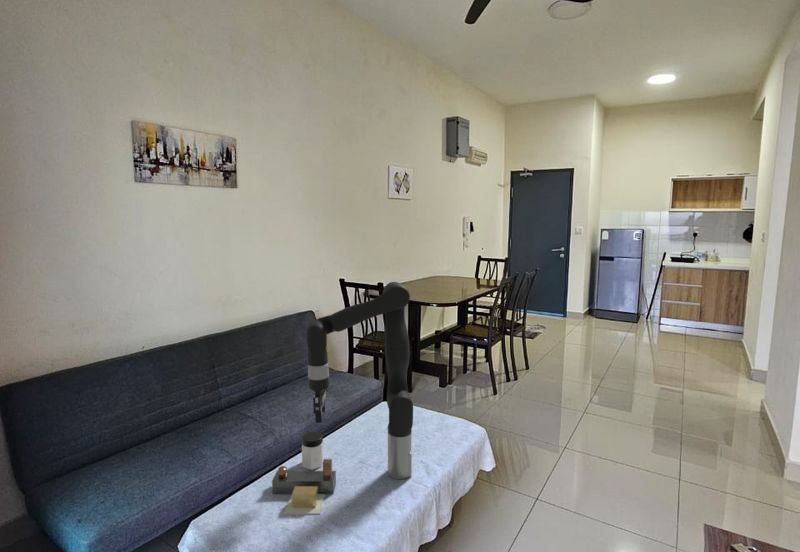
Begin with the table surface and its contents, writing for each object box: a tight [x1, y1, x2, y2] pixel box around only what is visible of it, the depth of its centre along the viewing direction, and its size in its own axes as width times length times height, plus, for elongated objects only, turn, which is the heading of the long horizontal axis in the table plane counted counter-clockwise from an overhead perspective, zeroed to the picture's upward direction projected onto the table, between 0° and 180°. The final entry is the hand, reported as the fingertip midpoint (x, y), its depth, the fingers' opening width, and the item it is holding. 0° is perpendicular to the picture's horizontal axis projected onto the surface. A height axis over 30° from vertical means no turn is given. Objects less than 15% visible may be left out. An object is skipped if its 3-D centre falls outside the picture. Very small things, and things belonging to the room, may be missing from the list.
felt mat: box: [284, 494, 326, 515], centre depth 155 cm, size 12×10×1 cm
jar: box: [301, 431, 324, 471], centre depth 179 cm, size 9×8×12 cm
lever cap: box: [292, 486, 318, 508], centre depth 154 cm, size 8×4×5 cm, turn 90°
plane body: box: [271, 458, 337, 495], centre depth 163 cm, size 22×6×11 cm, turn 90°
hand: (320, 416), depth 164 cm, fingers open, 8 cm apart
